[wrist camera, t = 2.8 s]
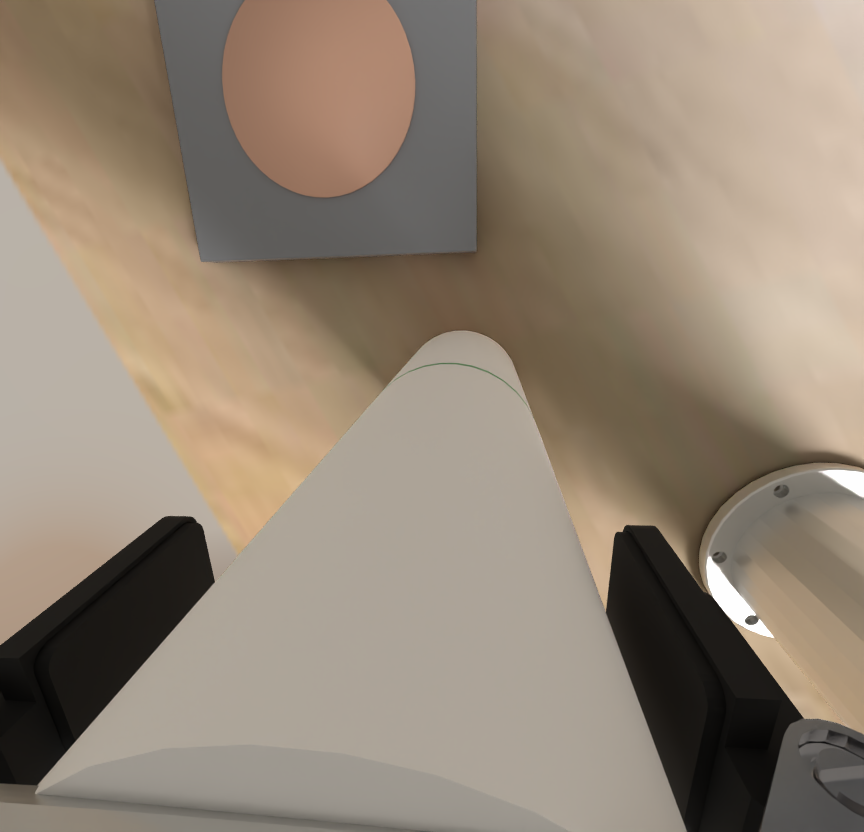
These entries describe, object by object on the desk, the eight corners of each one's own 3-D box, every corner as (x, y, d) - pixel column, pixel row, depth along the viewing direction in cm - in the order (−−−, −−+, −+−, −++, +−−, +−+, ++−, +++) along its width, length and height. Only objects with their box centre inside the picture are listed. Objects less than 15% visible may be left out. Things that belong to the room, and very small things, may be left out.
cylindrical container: (402, 434, 29) (57, 1116, 5) (408, 325, 27) (-129, 675, 3) (510, 445, 29) (652, 1262, 5) (525, 335, 26) (916, 849, 3)
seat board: (476, -112, 20) (475, -147, 19) (476, 252, 25) (476, 250, 24) (160, -70, 22) (133, -99, 21) (216, 262, 27) (198, 261, 25)
